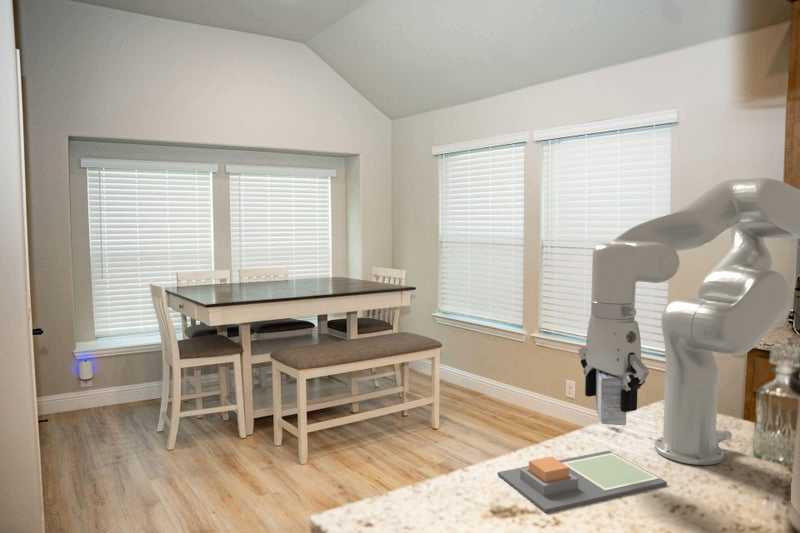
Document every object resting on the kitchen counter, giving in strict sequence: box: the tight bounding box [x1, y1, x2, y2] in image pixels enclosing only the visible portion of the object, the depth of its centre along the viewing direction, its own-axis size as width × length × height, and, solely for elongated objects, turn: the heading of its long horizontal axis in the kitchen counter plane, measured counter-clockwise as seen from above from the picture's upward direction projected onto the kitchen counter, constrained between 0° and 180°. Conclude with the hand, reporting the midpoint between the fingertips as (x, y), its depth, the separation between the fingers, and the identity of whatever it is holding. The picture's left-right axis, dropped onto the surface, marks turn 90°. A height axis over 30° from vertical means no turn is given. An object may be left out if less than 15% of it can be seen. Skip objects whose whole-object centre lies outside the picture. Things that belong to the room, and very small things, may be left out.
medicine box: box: [595, 369, 627, 426], centre depth 109 cm, size 8×4×9 cm, turn 168°
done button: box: [528, 456, 569, 483], centre depth 105 cm, size 5×5×2 cm
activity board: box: [497, 450, 668, 514], centre depth 108 cm, size 26×15×2 cm, turn 111°
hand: (609, 402), depth 109 cm, fingers closed on medicine box, 9 cm apart
